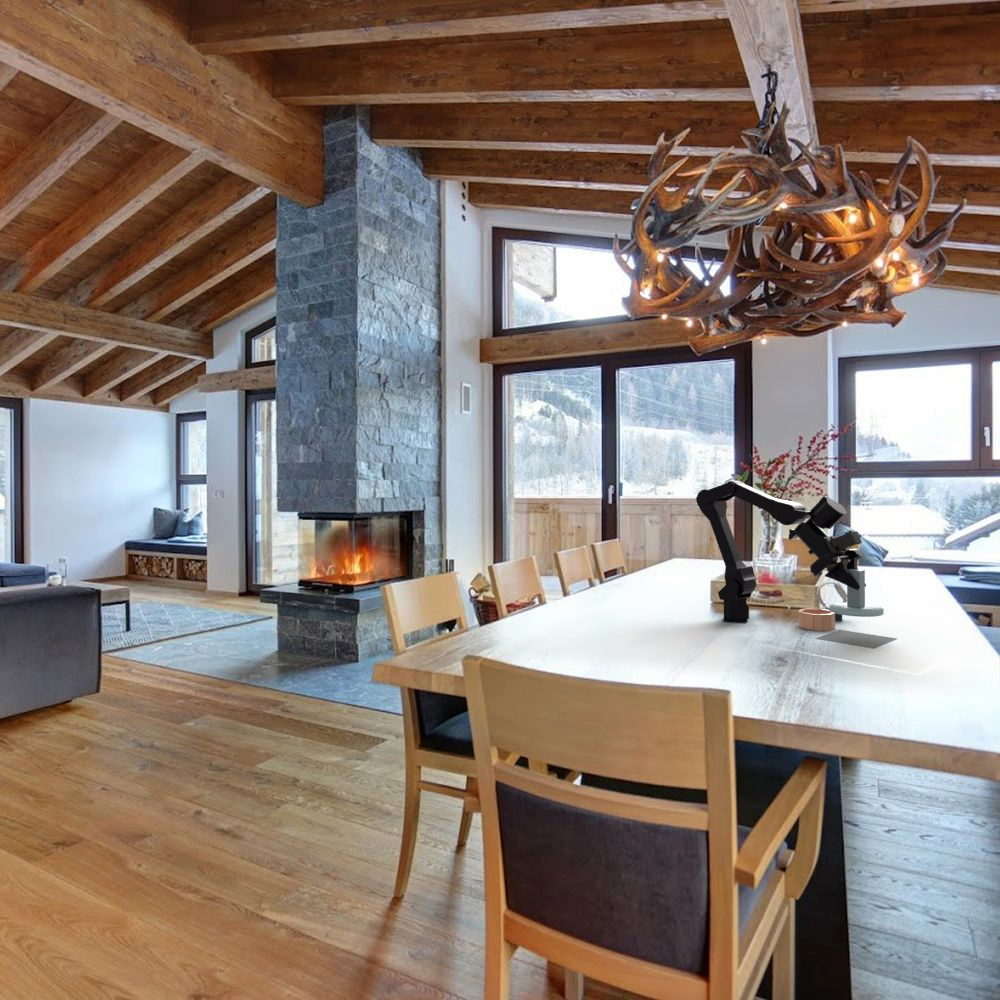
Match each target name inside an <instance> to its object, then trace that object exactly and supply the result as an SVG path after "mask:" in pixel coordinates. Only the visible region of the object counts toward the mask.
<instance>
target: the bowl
mask: <svg viewBox="0 0 1000 1000" xmlns="http://www.w3.org/2000/svg"><path fill="white" fill-rule="evenodd" d="M798 627H799V628H802V629H806V630H812V631H821V632H822V631H824V632H825V631H833V630H835V629H836V621H835V613H833V612H831V611H830V610H826V609H822V608H816V607H815V608H813V607H811V608H809V607H808V608H807V607H806V608H801V609H798Z"/></svg>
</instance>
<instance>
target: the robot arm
mask: <svg viewBox="0 0 1000 1000" xmlns="http://www.w3.org/2000/svg"><path fill="white" fill-rule="evenodd" d="M734 498H738V499H740V500H741V501H745V502H746V503H748V504H750V505H752V506H754V507H756V508H759V509H760V510H763V511H765V512H766V513H768V514H769V515H770V516H771V518H773V519H774V520H775V521H776V522H778V523H780V524H782V525H784V526H793V525H796V527H795V528H790V529H788V532H789V533H788V540H795V539H796V540H797V539H799V540H800V541H801V542H802V543H803V544H804V545H805V547H807V548H808V549H809V550H808V552H807V553H809V555H811V556H812V555H814V556H815V557H816V558H817V559H816V560H815V561H814V562H813V563H811V564H810V567H809V568H810V569H809V570H810V573H812V575H813V576H815V578H816V577H820V576H821V575H822V574H823V573H822V572H823V571H824V570H825V569H826V571H827V572H826V573H825V574H824V577H825V578H829V579H830V580H831V579H832V580H833V581H836V582H837V583H841V584H842V585H846V587H847V586H849V587H851V588H854V589H856V590H858V589H859V588H860V586H859V584H858V583H857V581H856V580H855V579H854V577H853V576H852V575H851V573H850V572H849V571H848V570H850V569H859V568H858V561H859V560H860V559H861V558H862V557H863V556H864V555H865V554H864V553H863V552H862V551H861V549H859V548H851V547H853V546H856V545H861V544H862V543H863V542H862V539H861V538H862V534H860V533H859V532H858V531H855V530H854V529H850V530H847V531H845V532H844V534H841V535H839V536H837V537H835V536H834V535H828V534H827V533H826V532H825V531H824V529H827V530H830V529H832V528H833V527H834V526H835V525H837V524H838V523H839V521H840V520H841V519H843V518H844V517H845V516H846V515H847V514H848V513H847V510H846V507H844V505H842V504H841V503H839V502H838V501H836V500H834V499H833V498H831V497H829V496H827V495H824V496H822V497H821V498H820V499H819V501H818V502H817V503H816V504H815V505H814V506H813V507H812V508H809V507H808V508H807V507H806V506H805V505H803V504H802V503H800V502H795V501H793V500H787V499H781V498H777V497H774V496H772V495H770V494H768V493H765V492H763V491H761V490H758V489H756V488H754V487H752V486H750V485H748V484H745V483H743V482H742V481H740V480H728V481H727V482H725V483H723V484H720V485H718V486H715V487H712V488H708V489H706V488H705V489H702V490H700V491H699V492H698V493H697V496H696V497H695V502H696V505H697V506H698V508H699V510H700V512H701V513H702V515H703V516H705V518H707V520H708V522H709V523H710V526H711V529H712V532H713V534H714V538H715V540H716V543H717V546H718V548H719V551H720V555H721V558H722V560H723V563H724V565H725V569H724V577H723V578H724V582H725V585H724V586H723V587H722V588H721V589H720V590H719V591H718V592H717V595H718V598H719V600H721V601H723V618H722V621H723V622H736V623H748V620H749V619H750V604H749V603H747V601H748V600H747V599H750V598H751V597H752V594H753V592H754V591H755V589H756V587H757V580H758V577H757V576H756V574H755V572H754V567H753V566H752V565H746V563H744V562H743V559H742V556H741V555H740V552H739V548H738V546H737V542H736V541H735V538H734V534H733V533H732V529H731V527H730V524H729V520H728V517H727V509H728V505H727V502H728V501H730V500H732V499H734ZM806 519H808V520H806ZM848 548H850V549H848ZM866 587H867V583H865V588H866Z"/></svg>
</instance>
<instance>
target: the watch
mask: <svg viewBox="0 0 1000 1000" xmlns="http://www.w3.org/2000/svg"><path fill="white" fill-rule="evenodd" d="M828 584H832V585H833V586H834V589H835V591H836V593H837V594H838V595H839V597H840V598H841V599H842V600H843V601H842V602H841V603H847V591H846V590H845V589H844V588H843V586H842V585H841V584H840V582H835V581H834V580H833V581H831V580H830V581H829V580H826V581H824V582H822V583H821V584H819V585H818V587H817V589H816V594H815V595H816V598H817V600H818V601H819V603H820V605H821V606H822V607H821V609H826V610H829V606H827V605H826V604H827V603H825V602H824V600H823V599H822V597H821V593H820V591H821V589H822V588H823V587H825V585H828ZM835 622H843V615H841V614H836V613H835Z"/></svg>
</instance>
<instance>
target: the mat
mask: <svg viewBox="0 0 1000 1000" xmlns="http://www.w3.org/2000/svg"><path fill="white" fill-rule="evenodd" d="M814 639H816V640H820V641H826V642H833V643H839V644H843V645H844V644H845V645H850V646H857V647H863V648H868V649H873V650H874V649H877V648H879V647H882V646H884V645H886V644H888V643H889V644H890V643H892V642H894V641H896V640H898V638H896V637H891V636H890V637H889V636H883V635H877V634H870V633H864V632H859V631H857V632H856V631H851V630H844V629H837V630H836V631H832V632H828V633H827V634H823V635H821V636H818V637H815V638H814Z"/></svg>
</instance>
